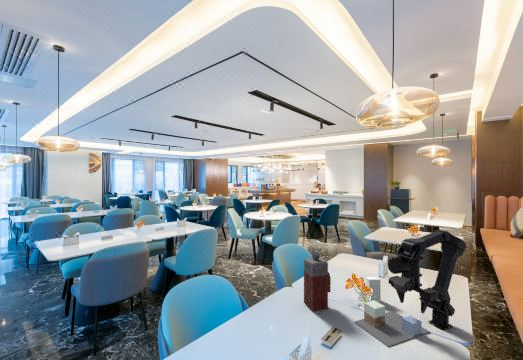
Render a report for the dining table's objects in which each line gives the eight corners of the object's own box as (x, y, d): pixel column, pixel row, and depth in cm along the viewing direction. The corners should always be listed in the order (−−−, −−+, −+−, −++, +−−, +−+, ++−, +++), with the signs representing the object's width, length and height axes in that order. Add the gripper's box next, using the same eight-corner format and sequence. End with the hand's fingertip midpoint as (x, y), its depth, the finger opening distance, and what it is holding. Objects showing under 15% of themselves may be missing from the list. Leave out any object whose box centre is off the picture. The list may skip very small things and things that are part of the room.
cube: (410, 326, 109) (410, 315, 109) (421, 333, 104) (421, 321, 104) (402, 329, 107) (402, 317, 107) (413, 336, 103) (413, 323, 103)
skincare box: (376, 298, 136) (376, 276, 136) (380, 302, 131) (380, 279, 131) (365, 299, 135) (365, 276, 135) (369, 302, 131) (369, 279, 131)
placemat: (392, 311, 122) (392, 310, 122) (429, 332, 106) (429, 331, 106) (353, 322, 113) (353, 321, 113) (388, 347, 97) (388, 346, 97)
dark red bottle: (332, 308, 126) (332, 251, 126) (311, 311, 122) (312, 253, 122) (322, 300, 134) (323, 247, 134) (303, 302, 131) (303, 248, 131)
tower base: (374, 317, 116) (374, 308, 116) (385, 324, 111) (385, 315, 111) (364, 320, 114) (364, 311, 114) (374, 327, 109) (374, 318, 109)
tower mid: (374, 308, 116) (374, 300, 116) (385, 315, 111) (385, 306, 111) (364, 311, 114) (364, 302, 114) (374, 318, 109) (374, 308, 109)
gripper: (379, 266, 111) (379, 301, 111) (420, 282, 94) (420, 323, 94) (397, 262, 116) (397, 296, 116) (439, 277, 98) (439, 317, 98)
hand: (411, 307), depth 106 cm, fingers open, 9 cm apart
